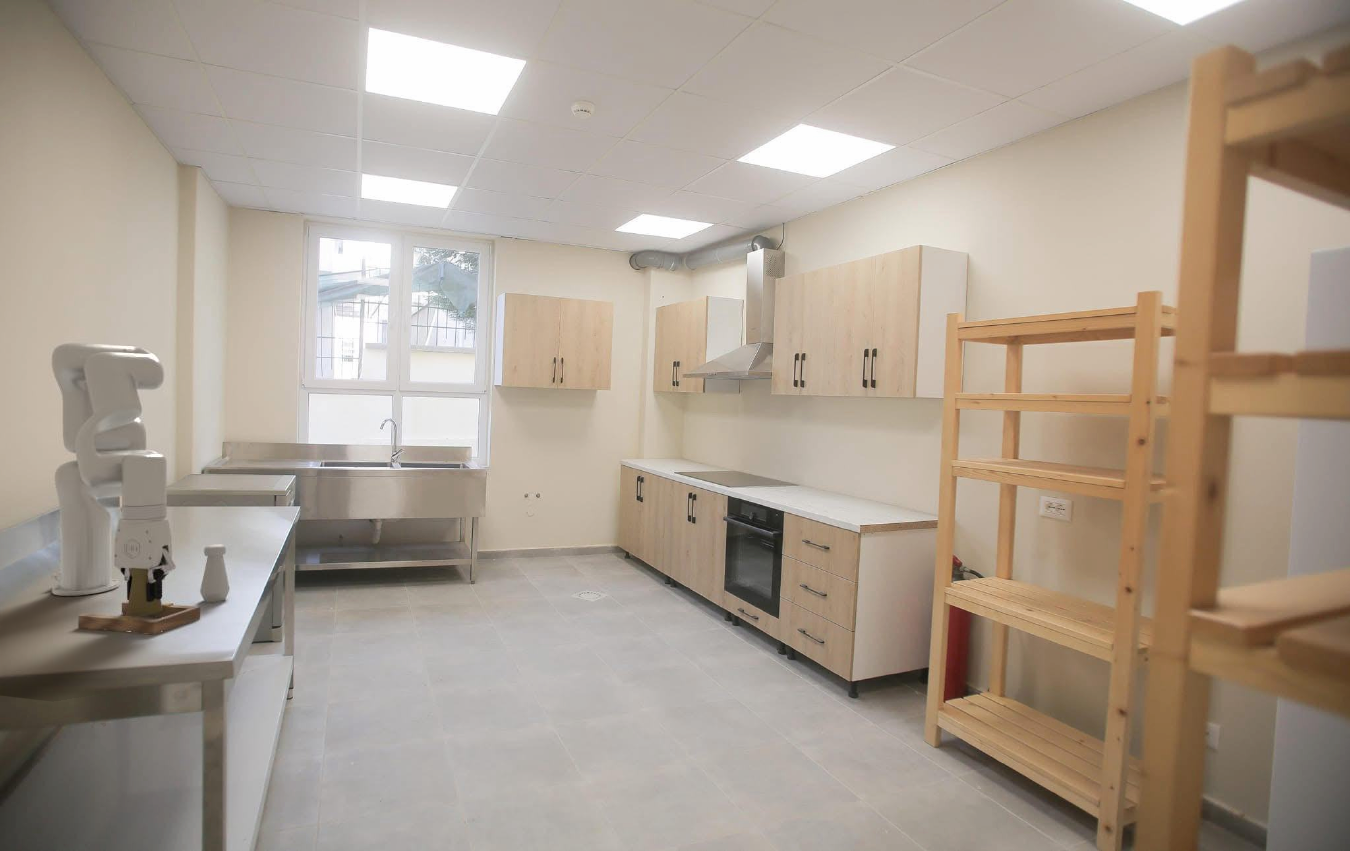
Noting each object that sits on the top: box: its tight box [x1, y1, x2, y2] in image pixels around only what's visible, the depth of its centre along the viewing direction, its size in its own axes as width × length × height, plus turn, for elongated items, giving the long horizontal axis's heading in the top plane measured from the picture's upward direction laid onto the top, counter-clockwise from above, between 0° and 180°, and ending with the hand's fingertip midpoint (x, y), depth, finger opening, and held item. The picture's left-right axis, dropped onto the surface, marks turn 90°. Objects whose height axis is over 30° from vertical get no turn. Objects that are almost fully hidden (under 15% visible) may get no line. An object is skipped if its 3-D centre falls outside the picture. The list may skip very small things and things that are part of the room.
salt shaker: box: [199, 543, 231, 603], centre depth 167 cm, size 6×6×13 cm
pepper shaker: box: [126, 568, 163, 617], centre depth 149 cm, size 6×6×11 cm
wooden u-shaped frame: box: [77, 600, 201, 635], centre depth 150 cm, size 18×11×3 cm, turn 80°
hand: (144, 598), depth 149 cm, fingers closed on pepper shaker, 3 cm apart
